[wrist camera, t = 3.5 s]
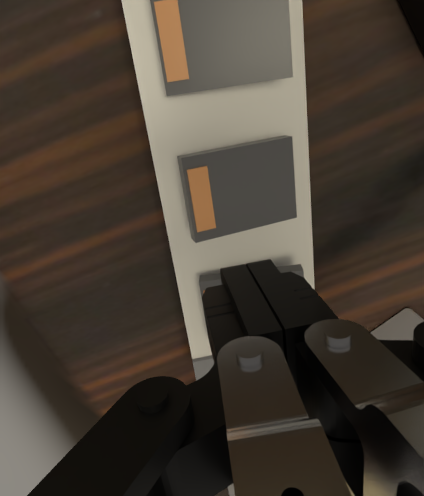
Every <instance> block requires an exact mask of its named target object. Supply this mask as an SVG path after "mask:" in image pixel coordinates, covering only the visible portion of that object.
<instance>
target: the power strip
mask: <svg viewBox="0 0 424 496" xmlns="http://www.w3.org/2000/svg"><path fill="white" fill-rule="evenodd" d="M121 1H122V6H123V11H124V16H125V21H126V26H127V31H128V36H129V41H130V46H131V51H132V56H133V61H134V66H135V71H136V77H137V82H138V87H139V92H140V97H141V102H142V107H143V112H144V117H145V122H146V127H147V132H148V137H149V142H150V147H151V153H152V158H153V163H154V168H155V173H156V178H157V183H158V188H159V193H160V198H161V203H162V208H163V213H164V218H165V223H166V228H167V234H168V239H169V244H170V249H171V254H172V259H173V264H174V269H175V274H176V279H177V284H178V289H179V294H180V299H181V304H182V309H183V315H184V320H185V325H186V330H187V335H188V340H189V345H190V350H191V355H192V360H193V366H194V371H195V376H196V381H197V380H198V379H200V378H202V377H203V376H204V375H206V374H207V373H208V372H209V371H210V369H211V368H212V367H213V365H214V360H213V356H212V352H211V348H210V344H209V339H208V333H207V327H206V321H205V315H204V309H203V304H202V298H201V292H200V286H199V276H200V275H206V274H215V273H220V268H225V267H230V266H236V265H241V264H246V263H251V262H256V261H262V260H267V259H271V260H272V262H273V263H274V265H275V266H276V267H278V266H287V265H296V264H301V266H302V268H303V270H304V278H305V279H306V281H307V282H308V283H309V284H310V285H311V287H312V289H314V290H315V287H314V264H313V241H312V218H311V195H310V172H309V149H308V125H307V102H306V79H305V56H304V33H303V10H302V0H289V14H290V32H291V50H292V69H293V77H291V78H284V79H278V80H271V81H264V82H258V83H251V84H245V85H238V86H232V87H225V88H218V89H212V90H205V91H199V92H192V93H185V94H179V95H172V96H166V90H165V84H164V78H163V73H162V67H161V61H160V55H159V49H158V44H157V38H156V32H155V26H154V21H153V15H152V9H151V3H150V0H121ZM283 135H286V136H292V141H293V158H294V175H295V192H296V209H297V218H293V219H289V220H285V221H281V222H277V223H273V224H269V225H265V226H261V227H257V228H253V229H250V230H246V231H242V232H238V233H234V234H230V235H226V236H222V237H218V238H214V239H210V240H206V241H202V242H198V243H195V242H194V241H193V240H192V238H191V234H190V228H189V222H188V216H187V211H186V205H185V199H184V193H183V187H182V182H181V176H180V170H179V164H178V159H177V156H180V155H185V154H190V153H196V152H201V151H206V150H211V149H216V148H221V147H227V146H232V145H237V144H242V143H247V142H252V141H258V140H263V139H268V138H273V137H278V136H283Z"/></svg>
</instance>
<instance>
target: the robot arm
mask: <svg viewBox="0 0 424 496" xmlns="http://www.w3.org/2000/svg"><path fill="white" fill-rule="evenodd" d="M220 276H221V283H222V285H218V286H213V287H208V288H206V290H205V292H204V294H203V296H202V303H203V309H204V315H205V321H206V327H207V333H208V339H209V344H210V348H211V352H212V356H213V360H214V365H213V367H212V368H211V369H210V371H209V372H208V373H207V374H206V375H204V376H203V377H202V378H200V379H198V380H197V381H195V382H193V383H191V384H189V385H187V386H186V385H185V384H184V383H183V382H182V381H180V380H178V379H176V378H173V377H166V376H160V377H153V378H149V379H146V380H144V381H141V382H139V383H137V384H136V385H134V386H133V387H131V388H130V389H129V390H128V391H127V392H126V393H125V394H124V395H123V396H122V397H121V398H120V399H119V400H118V401H117V402H116V403H115V404H114V405H113V406H112V407H111V408H110V409H109V410H108V411H107V413H106V414H105V415H104V416H103V417H102V418H101V419H100V420H99V421H98V422H97V423H96V424H95V425H94V426H93V427H92V428H91V429H90V430H89V432H87V434H86V435H85V436H84V437H83V438H82V439H81V440H80V441H79V442H78V443H77V444H76V445H75V446H74V447H73V448H72V449H71V450H70V451H69V452H68V453H67V454H66V456H65V457H64V458H63V459H62V460H61V461H60V462H59V463H58V464H57V465H56V466H55V467H54V468H53V469H52V470H51V471H50V472H49V473H48V474H47V475H46V477H44V479H43V480H42V481H41V482H40V483H39V484H38V485H37V486H36V487H35V488H34V489H33V490H32V491H31V492H30V493H29V494H28V495H27V496H214V495H216V494H217V493H219V492H220V491H222V490H223V489H225V488H227V487H228V486H230V485H231V484H234V492H235V496H424V322H421V323H420V324H418V325H417V326H416V327H415V329H414V332H413V340H379V339H377V338H375V337H374V336H373V335H372V334H371V333H370V332H369V331H368V330H367V329H365V328H364V327H363V326H361V325H359V324H357V323H355V322H352V321H348V320H342V319H339V318H338V317H337V316H336V315H335V314H334V312H333V311H332V310H331V309H330V308H329V307H328V305H327V304H326V303H325V302H324V301H323V299H322V298H321V297H320V296H318V294H317V292H316V291H315V290H314V289H312V287H311V285H310V284H309V283H308V282H307V281H306V279H305V278H304V277H301V276H299V275H297V274H295V273H293V272H291V271H290V272H285V273H280V271H279V270H278V269H277V267H276V266H275V265H274V263H273V262H272V260H271V259H267V260H262V261H256V262H251V263H246V264H241V265H236V266H230V267H225V268H220ZM307 414H308V415H307ZM308 416H309V417H308Z"/></svg>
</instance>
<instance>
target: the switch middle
mask: <svg viewBox="0 0 424 496" xmlns="http://www.w3.org/2000/svg"><path fill="white" fill-rule="evenodd" d="M177 159H178V164H179V170H180V176H181V182H182V187H183V193H184V199H185V205H186V211H187V216H188V222H189V228H190V234H191V238H192V240H193V241H194V242H195V243H198V242H202V241H206V240H210V239H214V238H218V237H222V236H226V235H230V234H234V233H238V232H242V231H246V230H250V229H253V228H257V227H261V226H265V225H269V224H273V223H277V222H281V221H285V220H289V219H293V218H297V209H296V192H295V175H294V158H293V141H292V136H286V135H283V136H278V137H273V138H268V139H263V140H258V141H252V142H247V143H242V144H237V145H232V146H227V147H221V148H216V149H211V150H206V151H201V152H196V153H190V154H185V155H180V156H177Z"/></svg>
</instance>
